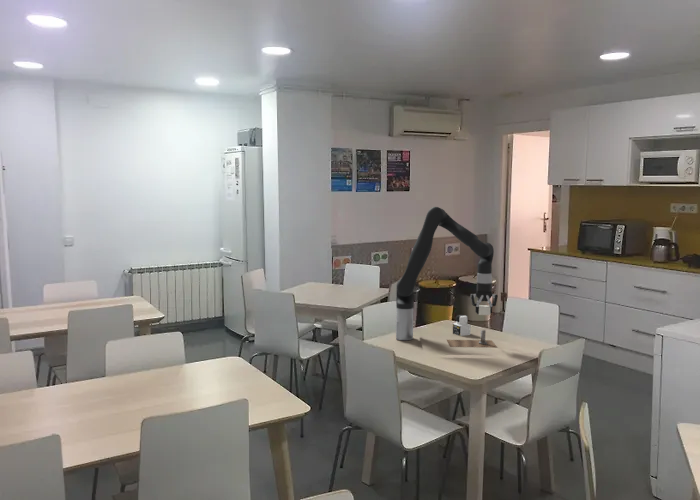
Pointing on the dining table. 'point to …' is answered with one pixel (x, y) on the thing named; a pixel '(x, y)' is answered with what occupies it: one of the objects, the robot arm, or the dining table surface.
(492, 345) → the post board
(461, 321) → the medicine bottle
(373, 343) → the dining table surface
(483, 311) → the cap
